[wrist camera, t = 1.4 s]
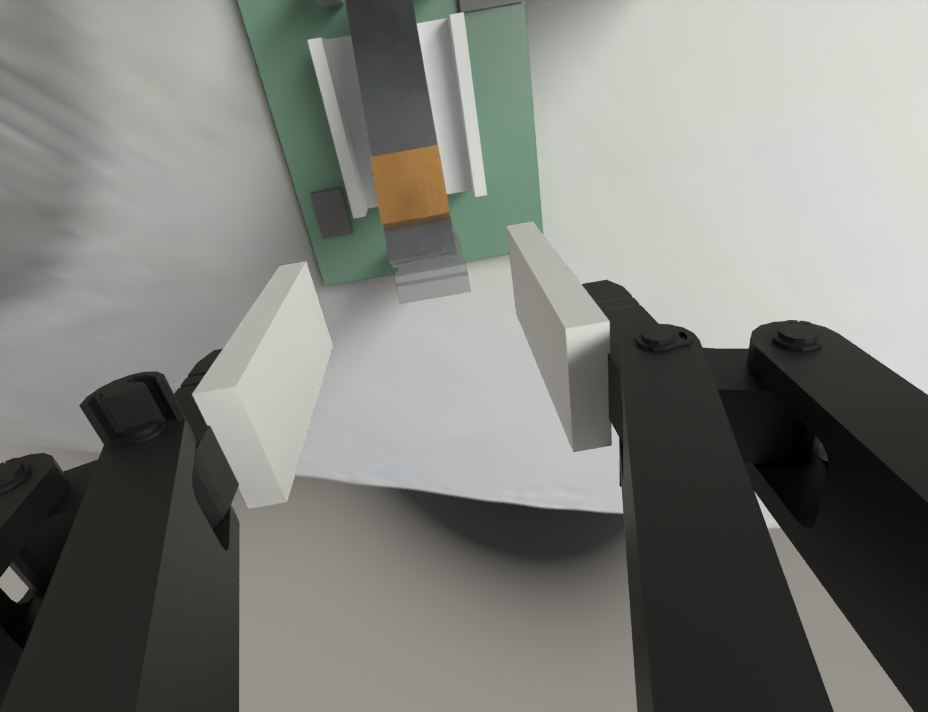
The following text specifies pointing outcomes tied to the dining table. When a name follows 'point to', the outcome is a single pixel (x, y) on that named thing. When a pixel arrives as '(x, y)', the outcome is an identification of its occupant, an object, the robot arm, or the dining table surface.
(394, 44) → the strap
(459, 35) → the board
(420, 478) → the dining table surface
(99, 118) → the dining table surface
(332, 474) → the dining table surface
